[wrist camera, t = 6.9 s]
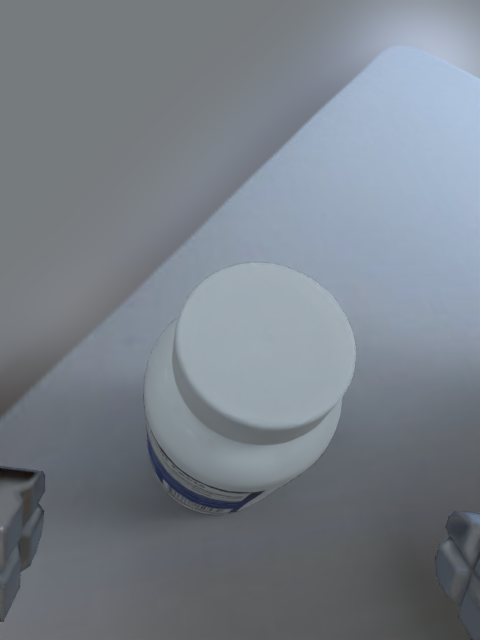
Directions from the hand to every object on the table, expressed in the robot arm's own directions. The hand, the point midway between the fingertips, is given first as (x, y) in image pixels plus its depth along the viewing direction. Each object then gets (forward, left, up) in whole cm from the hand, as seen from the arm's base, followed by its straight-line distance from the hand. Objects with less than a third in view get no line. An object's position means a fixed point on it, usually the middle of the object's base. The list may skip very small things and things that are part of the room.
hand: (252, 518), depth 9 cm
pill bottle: (0, +3, -9) cm, 9 cm away
